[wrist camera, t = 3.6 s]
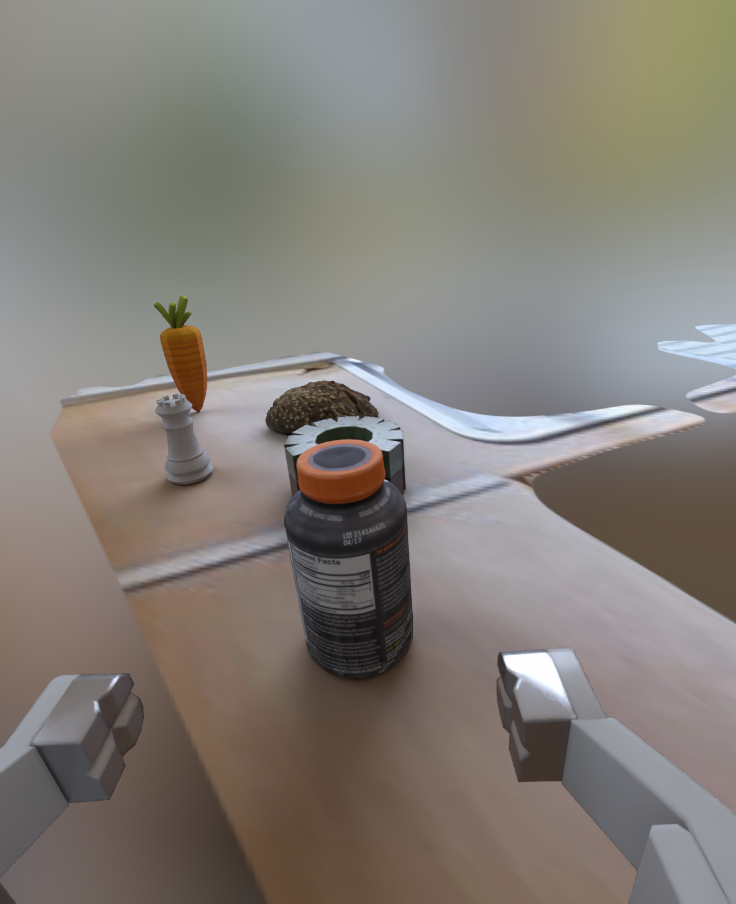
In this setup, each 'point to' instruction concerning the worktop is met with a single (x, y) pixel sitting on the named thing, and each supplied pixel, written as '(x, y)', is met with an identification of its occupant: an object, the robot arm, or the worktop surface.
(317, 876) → the worktop surface
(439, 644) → the worktop surface
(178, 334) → the carrot
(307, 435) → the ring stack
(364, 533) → the pill bottle
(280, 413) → the bread roll
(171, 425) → the rook chess piece
